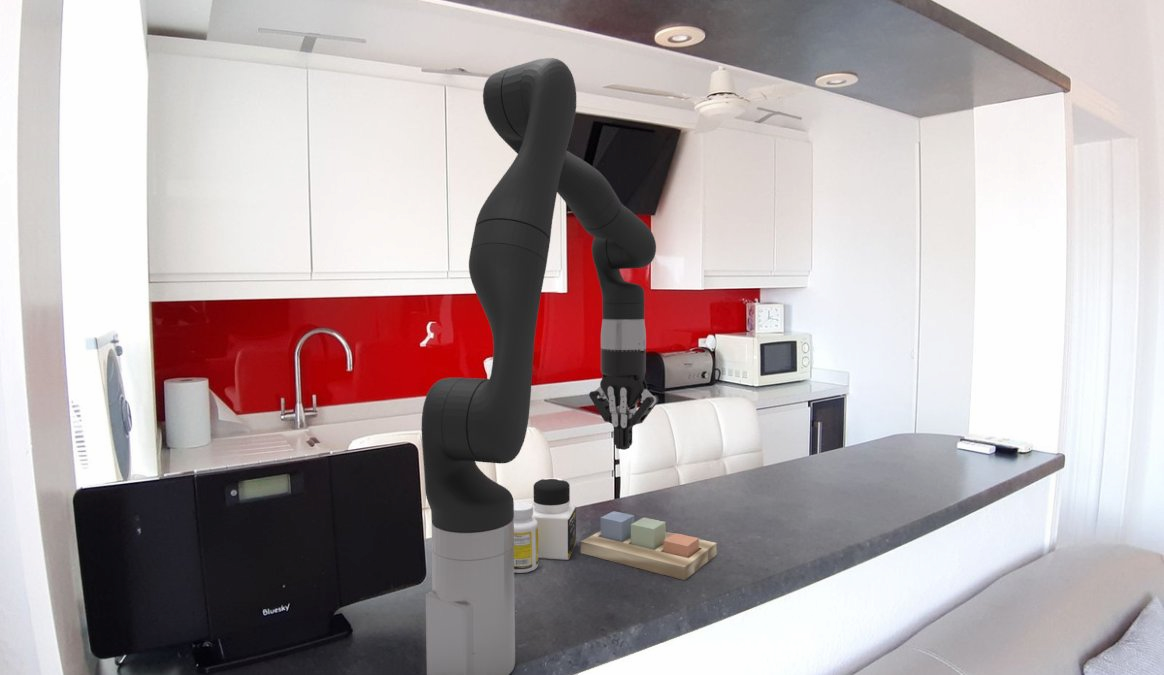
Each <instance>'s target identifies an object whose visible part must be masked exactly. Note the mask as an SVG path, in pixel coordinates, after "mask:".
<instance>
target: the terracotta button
mask: <svg viewBox="0 0 1164 675" xmlns="http://www.w3.org/2000/svg"><path fill="white" fill-rule="evenodd" d="M699 539H700V538H699V537H695V536H691V535H686V534H681V533H676V532H675V533H673V535H672V536H670V537H668V538H667V539H665V540H664V541H663V552H665V553H669V554H673V555H677V556H681V557H686V558H690V557H691V556H692V555H694V554H695V553H696V552H698V551H699Z"/></svg>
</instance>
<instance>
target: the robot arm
mask: <svg viewBox="0 0 1164 675" xmlns="http://www.w3.org/2000/svg"><path fill="white" fill-rule="evenodd" d="M482 102H483V108H484V113H485V114H486V117H487V119H488V122H489V124H490V125H491V127H492V128H493V130H494V131H495V132H496V134H497V135H499V137H500V138H501V139H502V140H503V142H505V143H506V144H507V146H509V147H510V149H512V150H513V151H514V152H515V153H516V157H515V159H514V160H513V161H512V163H511V165H510V166H509V167H508V169H507V170H506V172H504V174H503V175H502V177H501V178H500V180H499V181H498V183H497V184H496V185H495V186H494V188H492V191H491V192H490V193H489V195H488V196H487V198H486V200H485V201H484V203H483V205H482V206H481V208H480V210H479V212H478V214H477V218H476V221H475V226H474V231H473V235H472V241H471V247H470V252H469V256H468V257H469V258H468V272H469V277H470V280H471V283H472V286H473V289H474V291H475V294H476V295H477V299H478V301H479V303H480V304H481V307H482V309H483V312H484V314H485V316H486V319H487V321H488V325H489V327H490V330H491V334H492V335H491V336H492V344H493V351H492V352H493V354H492V365H491V372H490V377H489V378H475V377H467V378H466V377H446V378H445V377H444V378H441V379H439V380H437V381H436V382H434V384H432V386H431V387H430V388H429V390H428V391H427V394H426V396H425V399H424V403H423V407H422V413H421V414H422V415H421V445H422V457H423V458H422V459H423V473H424V474H423V475H424V489H425V496H426V501H427V504H428V505H429V508H430V515H431V516H430V517H431V569H432V571H431V572H432V573H431V574H432V575H431V576H432V578H431V581H432V582H431V583H432V590H430V591H429V592H427V593H426V594H425V635H426V636H425V638H426V640H425V641H426V649H425V650H426V675H510V674H511V673H513V671H514V668H515V666H516V630H515V629H516V628H515V627H516V626H515V624H516V623H515V622H516V621H515V620H516V619H515V618H516V617H515V610H516V609H515V608H516V607H515V573H514V503H515V502H514V501H515V500H514V498H513V495H512V493H511V492H510V490H509V489H507V488H506V487H505V486H503V485H501V484H499V483H498V482H496V481H495V480H492V479H491V478H490V477H489V476H487V475H486V474H485V473H484V472H483V471H482V470H481V469H480V468H479V466H478V465H477V463H476V462H478V463H479V462H480V463H490V464H501V465H502V464H508V463H510V462H512V461H513V460H515V459H516V458H517V457H518V455H519V454H520V451H521V450H522V447H523V446H524V442H525V439H526V437H527V430H528V424H529V420H530V419H529V417H530V409H531V408H530V407H531V397H532V395H531V393H532V380H533V378H532V377H533V368H534V367H533V364H534V362H533V361H534V349H535V338H536V330H537V322H538V317H539V316H538V315H539V311H540V310H539V308H540V302H541V301H540V300H541V295H542V291H543V284H544V279H545V275H546V269H547V264H548V256H549V252H550V244H551V236H552V226H553V219H554V212H555V207H556V199H557V194H558V195H559V196H560V197H561V199H562V200H563V201H564V202H565V204H566V205H567V207H569V210H571V212H572V214H573V215H574V216H575V218H576V219H577V221H578V222H579V223H580V225H581V226H582V227H583V229H584V230H585V231H586V232H587V234H589V235H590V236H592V237H593V240H592V243H591V254H592V255H591V256H592V260H593V263H594V267H595V271H596V274H597V278H598V282H599V287H600V290H601V296H602V300H601V302H602V303H601V304H602V320H601V321H602V322H601V329H600V330H601V331H600V372H601V375H602V376H601V377H602V378H601V380H600V382H599V384H600V386H599V387H598V388H596V389H595V390H591V391H590V392H589V393H588V396H589V399H590V400H591V401H592V403H593V404H594V406H595V407H596V410H597V411H598V413H599V414H600V416H601V418H602V420H603V421H604V422H606V423H610V424H612V427H613V444H614V445H615V448H616V449H617V450H628V449H630V447H631V446H632V444H633V428H634V426H636V425H639V424H643V423H644V421H645V420H646V418H647V417H648V416H649V415H650V413H651V412H652V410H653V409H654V408H655V406H656V405H657V403H658V402H659V400H660V397H659V396H658V395H656V394H655V395H653V394H652V393H651V392H650V391H649V390H648V384H647V382H646V379H645V375H646V372H647V368H646V364H647V363H646V362H647V347H646V346H647V333H646V331H647V330H646V325H645V324H646V323H645V322H646V321H645V289H644V288H643V287H642V286H641V284H637V283H633V282H629V281H625V280H624V278H623V276H622V272H621V270H622V269H623V270H624V269H626V270H627V269H643V268H645V267H647V266H649V265H650V264H651V263H652V262H653V260H654V259H655V256H656V252H657V243H656V240H655V236H654V234H653V232H652V229H650V227H649V226H648V225H647V224H646V223H645V222H644V221H643V220H642V219H641V218H639V217H638V216H637V215H636V214H635V213H634V212H633V211H632V210H630V209H629V208H627V206H625V205H624V204H623V203H622V202H621V201H620V200H621V199H620V198H619V197H618V195H617V193H616V192H615V190H614V189H613V186H611V184H610V182H609V181H608V180H607V179H606V177H605V176H604V175H603V174H602V173H601V172H600V171H599V170H598V169H597V168H595V167H594V166H592V165H591V164H590V163H588V162H587V161H585V160H584V159H582V158H581V157H578V156H577V155H575V154H574V153H571V152H570V151H568V147H569V143H570V141H571V140H570V139H571V136H572V132H573V129H574V128H573V127H574V124H575V118H576V112H577V87H576V83H575V79H574V76H573V73H572V71H571V69H570V67H569V66H568V65H567V64H565V62H564V61H562V60H561V59H558V58H554V57H547V58H540V59H539V58H538V59H535V60H534V59H533V60H532V61H531V60H530V61H529V62H528V61H527V62H525V63H521V64H518V65H514V66H511V67H508V68H505V69H502V70H499V71H497V72H495V73H492V74H491V75H490V76H489V77H488V78H487V80H486V81H485V83H484V86H483V92H482ZM639 402H640V406H639V407H638V403H639Z"/></svg>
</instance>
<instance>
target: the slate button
mask: <svg viewBox="0 0 1164 675" xmlns="http://www.w3.org/2000/svg"><path fill="white" fill-rule="evenodd" d="M599 521H600V527H599V528H600V530H599V531H600V537H602V538H606V539H611V540H615V541H619V542H624V541H626V540H627V539H629V538H631V524H632V523H634V522H635V515H634V514H630V513H624V512H619V511H615V510H613V511H611V512H609V513H607V514H605V515H603V516H601V517H600V520H599Z"/></svg>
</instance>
